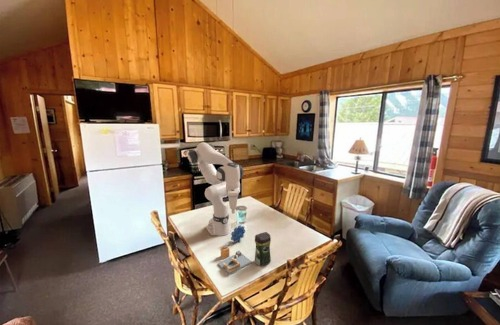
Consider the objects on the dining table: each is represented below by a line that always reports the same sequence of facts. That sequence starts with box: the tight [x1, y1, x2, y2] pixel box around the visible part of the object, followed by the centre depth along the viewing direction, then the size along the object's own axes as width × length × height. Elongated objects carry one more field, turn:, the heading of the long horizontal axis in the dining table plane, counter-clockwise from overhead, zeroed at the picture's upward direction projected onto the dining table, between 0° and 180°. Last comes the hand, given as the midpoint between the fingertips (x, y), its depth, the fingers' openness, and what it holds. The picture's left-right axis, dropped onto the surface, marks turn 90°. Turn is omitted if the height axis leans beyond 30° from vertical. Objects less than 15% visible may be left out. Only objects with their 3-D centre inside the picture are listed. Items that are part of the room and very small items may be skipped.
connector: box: [220, 244, 230, 260], centre depth 136 cm, size 4×4×7 cm
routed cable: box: [229, 250, 242, 265], centre depth 131 cm, size 6×11×2 cm, turn 129°
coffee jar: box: [254, 231, 272, 267], centre depth 129 cm, size 10×8×19 cm
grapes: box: [230, 225, 246, 243], centre depth 153 cm, size 12×7×12 cm, turn 122°
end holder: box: [223, 258, 240, 273], centre depth 124 cm, size 7×8×2 cm
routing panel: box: [217, 252, 253, 276], centre depth 129 cm, size 12×17×1 cm
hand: (233, 210), depth 134 cm, fingers open, 8 cm apart
